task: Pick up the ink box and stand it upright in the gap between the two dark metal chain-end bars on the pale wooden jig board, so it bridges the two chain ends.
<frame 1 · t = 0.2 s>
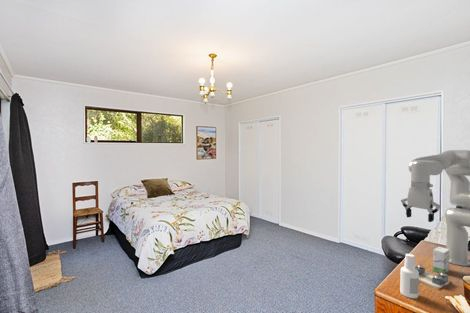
hand: (419, 219, 127), 31 cm above the table, tool pointing down, fingers open, 9 cm apart
ink box: (441, 271, 137), on the table
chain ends: (428, 274, 127), on the jig board, point 3 cm above the table
jig board: (428, 279, 127), on the table
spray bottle: (409, 294, 114), on the table
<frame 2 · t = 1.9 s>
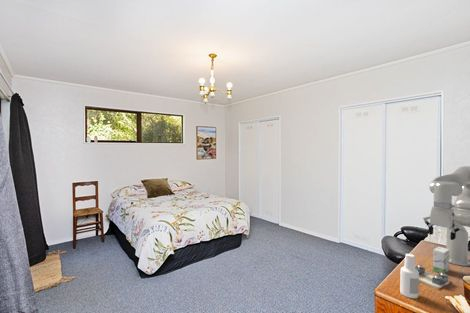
hand: (441, 236, 137), 19 cm above the table, tool pointing down, fingers open, 9 cm apart
nothing on the table moved.
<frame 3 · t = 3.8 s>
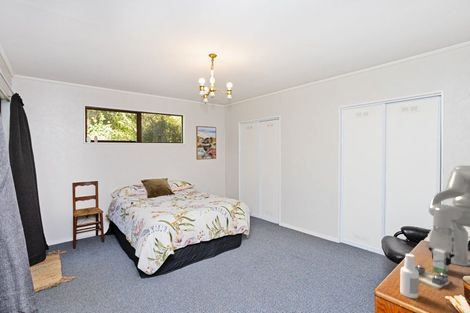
hand: (441, 262, 137), 4 cm above the table, tool pointing down, fingers closed on ink box, 5 cm apart
ink box: (441, 270, 137), on the table, touching gripper
everything else where it was.
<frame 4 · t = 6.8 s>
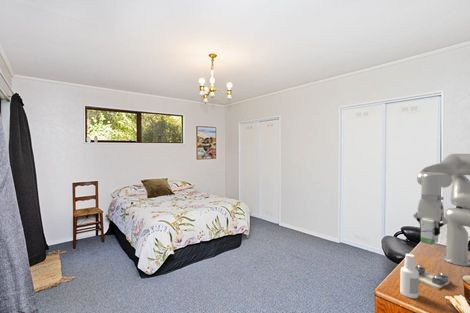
hand: (429, 233, 127), 24 cm above the table, tool pointing down, fingers closed on ink box, 5 cm apart
ink box: (429, 242, 127), point 19 cm above the table, touching gripper
everything else where it was.
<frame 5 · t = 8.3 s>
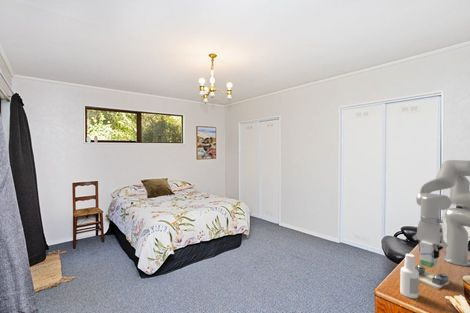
hand: (429, 255, 127), 12 cm above the table, tool pointing down, fingers closed on ink box, 5 cm apart
ink box: (428, 264, 127), point 8 cm above the table, touching gripper
everything else where it was.
when the fingers open (7 cm above the table, at t = 9.9 s): ink box drops 1 cm, resting on jig board.
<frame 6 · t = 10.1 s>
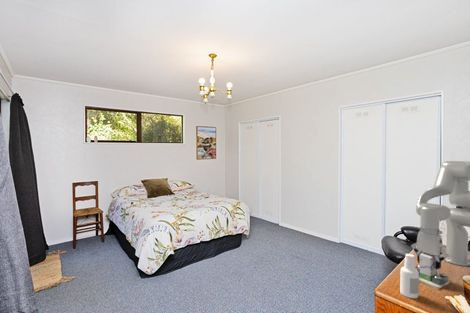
hand: (428, 265, 127), 7 cm above the table, tool pointing down, fingers open, 7 cm apart
ink box: (428, 277, 127), point 1 cm above the table, touching jig board
everything else where it was.
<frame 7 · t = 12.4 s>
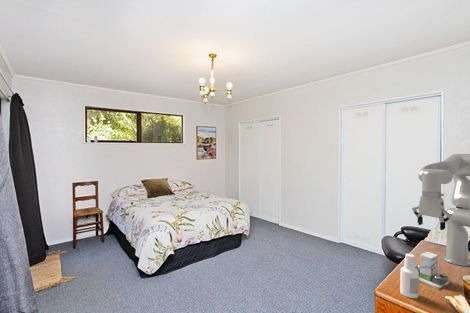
hand: (431, 227, 131), 26 cm above the table, tool pointing down, fingers open, 9 cm apart
nothing on the table moved.
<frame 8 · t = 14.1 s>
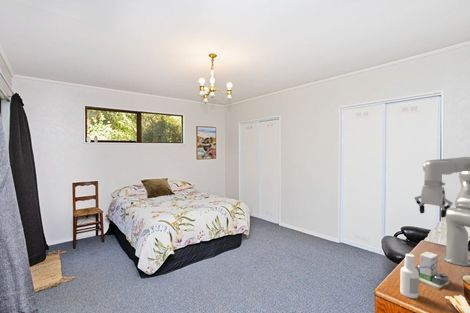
hand: (432, 215, 137), 30 cm above the table, tool pointing down, fingers open, 9 cm apart
nothing on the table moved.
at the end: ink box 0.2 cm off-centre on the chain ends, point 0.8 cm above the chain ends's base; ink box tilted 0°; the gripper is holding nothing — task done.
